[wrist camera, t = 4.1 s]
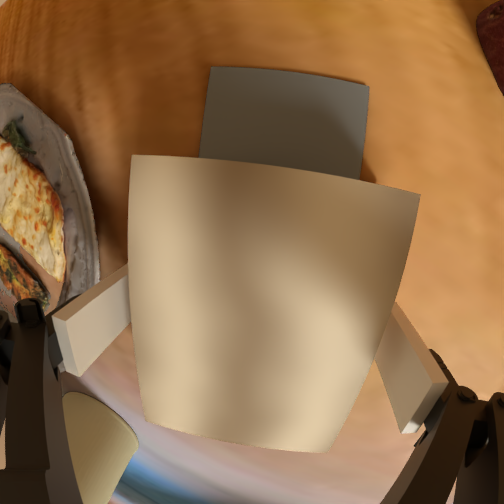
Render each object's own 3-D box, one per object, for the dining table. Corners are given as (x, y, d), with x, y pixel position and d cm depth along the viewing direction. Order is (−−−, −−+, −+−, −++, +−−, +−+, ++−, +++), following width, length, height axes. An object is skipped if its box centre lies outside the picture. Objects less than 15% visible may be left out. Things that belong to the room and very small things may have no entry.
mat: (368, 87, 12) (369, 86, 12) (290, 437, 19) (290, 440, 19) (212, 68, 13) (211, 66, 12) (189, 420, 20) (188, 423, 19)
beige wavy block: (382, 185, 13) (420, 194, 9) (323, 401, 17) (327, 452, 13) (175, 157, 14) (131, 154, 10) (170, 375, 18) (145, 420, 14)
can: (111, 454, 24) (70, 526, 13) (53, 400, 23) (-4, 467, 11) (156, 447, 22) (112, 543, 10) (85, 381, 20) (12, 472, 9)
